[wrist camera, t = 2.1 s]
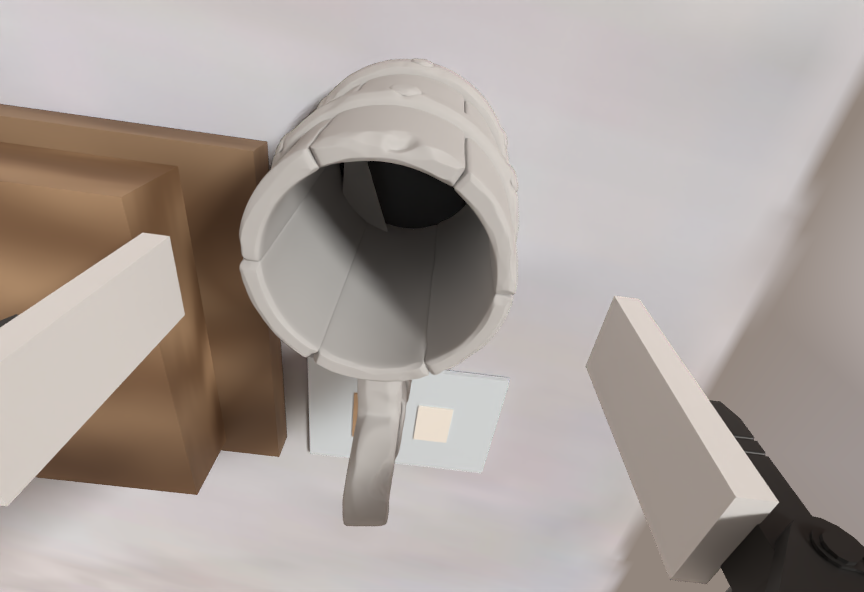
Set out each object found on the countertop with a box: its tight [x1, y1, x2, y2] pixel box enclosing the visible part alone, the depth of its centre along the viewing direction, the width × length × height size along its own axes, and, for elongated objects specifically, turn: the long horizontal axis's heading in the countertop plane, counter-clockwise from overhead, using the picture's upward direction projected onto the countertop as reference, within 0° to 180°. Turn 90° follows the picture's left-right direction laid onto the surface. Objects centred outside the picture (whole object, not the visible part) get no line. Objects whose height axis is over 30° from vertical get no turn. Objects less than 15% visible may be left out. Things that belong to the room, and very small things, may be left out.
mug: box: [239, 59, 519, 526], centre depth 14 cm, size 8×12×12 cm, turn 176°
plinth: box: [0, 104, 287, 495], centre depth 20 cm, size 18×18×5 cm
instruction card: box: [308, 354, 510, 473], centre depth 26 cm, size 8×11×1 cm
